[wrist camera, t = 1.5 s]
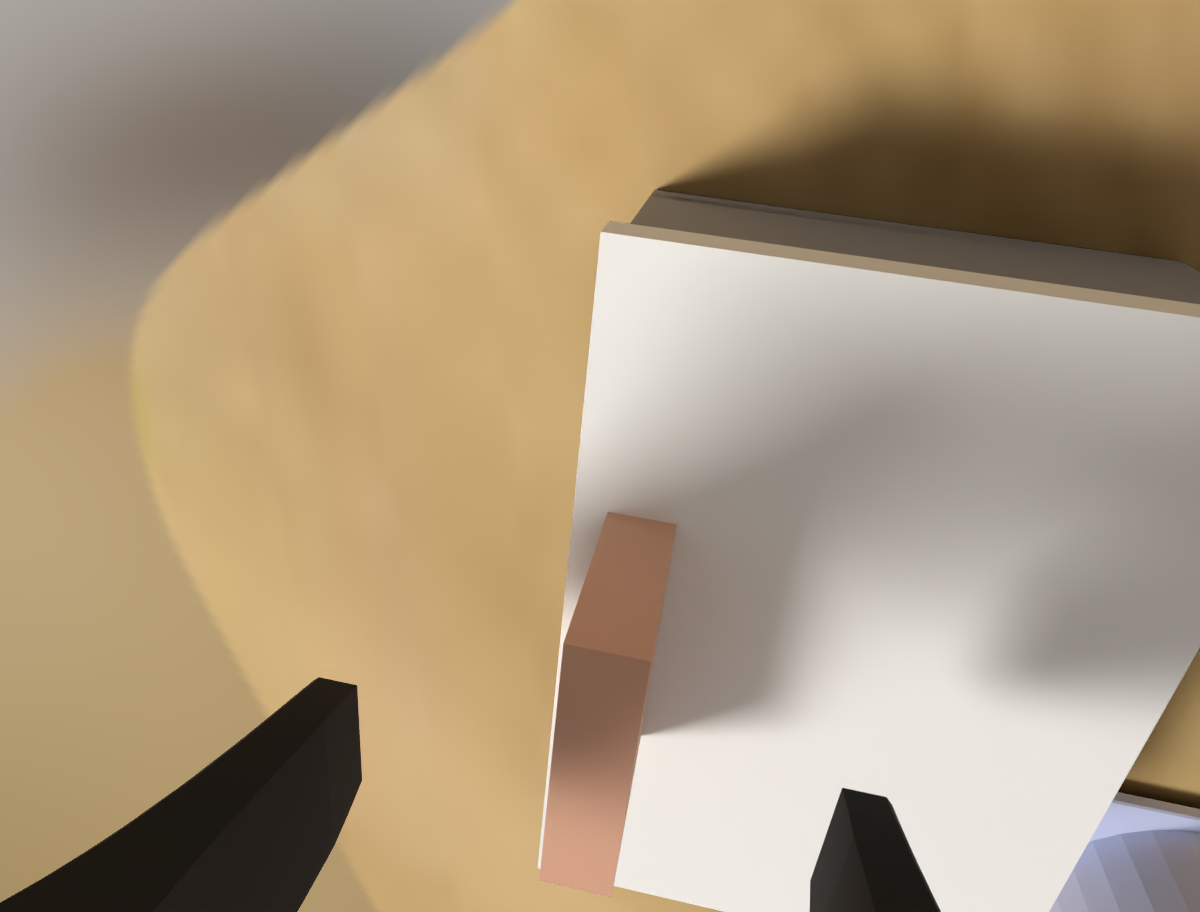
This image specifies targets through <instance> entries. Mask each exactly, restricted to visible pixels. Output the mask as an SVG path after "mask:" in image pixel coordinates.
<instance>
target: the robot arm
mask: <svg viewBox="0 0 1200 912" xmlns="http://www.w3.org/2000/svg"><path fill="white" fill-rule="evenodd" d="M361 781H362V772H361V753H360V734H359V715H358V696H357V685H352V684H348V683H343V682H338V681H334V680H329V679H324V678H317V679H316V680H314V681H313V682H311V683H310V684H309V685H308V686H306V687H305V688H304V689H303V690H301V691H300V692H299V693H298V694H297V695H295V696H294V697H293V698H292V699H290V700H289V701H288V702H287V703H286V704H284V705H283V706H282V707H281V708H280V709H278V710H277V711H276V712H275V713H274V714H272V715H271V716H270V717H269V718H267V719H266V720H265V721H264V722H263V723H261V724H260V725H259V726H258V727H256V728H255V729H254V730H253V731H251V732H250V733H249V734H248V735H246V736H245V737H244V738H243V739H241V740H240V741H239V742H238V743H236V744H235V745H234V746H233V747H231V748H230V749H229V750H227V751H226V752H225V753H224V754H222V755H221V756H220V757H218V758H217V759H216V760H214V761H213V762H212V763H211V764H210V765H208V766H207V767H205V768H204V769H203V770H202V771H200V772H199V773H198V774H196V775H195V776H194V777H192V778H191V779H190V780H188V781H187V782H186V783H185V784H183V785H182V786H180V787H179V788H178V789H176V790H175V791H173V792H172V793H171V794H169V795H168V796H166V797H165V798H164V799H162V800H161V801H159V802H158V803H157V804H155V805H154V806H152V807H151V808H150V809H148V810H147V811H145V812H144V813H143V814H141V815H140V816H138V817H137V818H135V819H134V820H133V821H131V822H130V823H128V824H127V825H126V826H124V827H123V828H121V829H120V830H118V831H117V832H115V833H114V834H112V835H111V836H109V837H108V838H106V839H105V840H103V841H102V842H100V843H99V844H97V845H95V846H94V847H92V848H91V849H89V850H88V851H86V852H85V853H83V854H81V855H80V856H78V857H77V858H75V859H73V860H72V861H70V862H69V863H67V864H65V865H64V866H62V867H60V868H59V869H57V870H56V871H54V872H52V873H51V874H49V875H48V876H46V877H44V878H43V879H41V880H39V881H37V882H36V883H34V884H32V885H30V886H29V887H27V888H25V889H23V890H22V891H20V892H18V893H16V894H15V895H13V896H11V897H10V898H8V899H6V900H4V901H2V902H1V903H0V912H297V911H298V910H299V908H300V906H301V904H302V903H303V901H304V899H305V897H306V896H307V894H308V892H309V890H310V888H311V887H312V885H313V883H314V881H315V879H316V877H317V876H318V874H319V872H320V870H321V868H322V867H323V865H324V863H325V862H326V860H327V858H328V856H329V854H330V852H331V851H332V849H333V847H334V845H335V843H336V840H337V838H338V836H339V833H340V831H341V829H342V827H343V824H344V822H345V820H346V818H347V815H348V813H349V810H350V808H351V806H352V803H353V801H354V798H355V796H356V793H357V791H358V789H359V786H360V784H361ZM810 912H941V910H940V908H939V906H938V904H937V902H936V900H935V898H934V896H933V894H932V892H931V890H930V888H929V886H928V884H927V882H926V880H925V877H924V875H923V873H922V871H921V869H920V867H919V865H918V863H917V860H916V858H915V856H914V854H913V852H912V849H911V847H910V845H909V843H908V840H907V838H906V836H905V834H904V831H903V829H902V827H901V824H900V822H899V820H898V818H897V815H896V813H895V810H894V808H893V806H892V804H891V803H890V801H889V800H888V798H887V797H884V796H879V795H875V794H870V793H865V792H860V791H856V790H851V789H846V788H842V790H841V793H840V796H839V798H838V801H837V804H836V807H835V810H834V813H833V816H832V819H831V822H830V825H829V828H828V830H827V833H826V836H825V839H824V842H823V845H822V848H821V851H820V854H819V857H818V860H817V862H816V865H815V868H814V871H813V874H812V877H811V880H810ZM1049 912H1200V809H1197V808H1192V807H1188V806H1183V805H1178V804H1173V803H1168V802H1163V801H1158V800H1154V799H1149V798H1144V797H1139V796H1134V795H1129V794H1125V793H1120V792H1117V794H1116V795H1115V797H1114V799H1113V801H1112V802H1111V804H1110V806H1109V808H1108V809H1107V811H1106V813H1105V815H1104V816H1103V818H1102V820H1101V822H1100V823H1099V825H1098V827H1097V829H1096V830H1095V832H1094V834H1093V836H1092V837H1091V839H1090V841H1089V843H1088V844H1087V846H1086V848H1085V850H1084V851H1083V853H1082V855H1081V857H1080V858H1079V860H1078V862H1077V864H1076V865H1075V867H1074V869H1073V871H1072V873H1071V874H1070V876H1069V878H1068V880H1067V881H1066V883H1065V885H1064V887H1063V888H1062V890H1061V892H1060V894H1059V895H1058V897H1057V899H1056V901H1055V902H1054V904H1053V906H1052V908H1051V909H1050V911H1049Z"/></svg>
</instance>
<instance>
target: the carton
mask: <svg viewBox="0 0 1200 912" xmlns="http://www.w3.org/2000/svg"><path fill="white" fill-rule="evenodd" d="M630 224H635V225H642V226H650V227H657V228H664V229H671V230H678V231H685V232H692V233H699V234H706V235H713V236H720V237H727V238H734V239H741V240H748V241H755V242H762V243H770V244H777V245H784V246H791V247H798V248H805V249H812V250H819V251H826V252H833V253H840V254H847V255H854V256H861V257H868V258H875V259H883V260H890V261H897V262H904V263H911V264H918V265H925V266H932V267H939V268H946V269H953V270H960V271H967V272H974V273H981V274H988V275H996V276H1003V277H1010V278H1017V279H1024V280H1031V281H1038V282H1045V283H1052V284H1059V285H1066V286H1073V287H1080V288H1087V289H1094V290H1101V291H1109V292H1116V293H1123V294H1130V295H1137V296H1144V297H1151V298H1158V299H1165V300H1172V301H1179V302H1186V303H1193V304H1200V271H1198V270H1196V269H1194V268H1192V267H1191V266H1189V265H1187V264H1185V263H1183V262H1180V261H1173V260H1166V259H1158V258H1151V257H1144V256H1136V255H1129V254H1122V253H1114V252H1107V251H1100V250H1092V249H1085V248H1078V247H1070V246H1063V245H1056V244H1048V243H1041V242H1034V241H1026V240H1019V239H1012V238H1004V237H997V236H990V235H982V234H975V233H968V232H960V231H953V230H946V229H938V228H931V227H924V226H916V225H909V224H902V223H894V222H887V221H880V220H872V219H865V218H858V217H850V216H843V215H836V214H828V213H821V212H814V211H806V210H799V209H792V208H784V207H777V206H770V205H762V204H755V203H748V202H740V201H733V200H726V199H718V198H711V197H704V196H697V195H689V194H682V193H675V192H667V191H660V190H654V192H653V193H652V194H651V196H650V197H649V199H648V200H647V201H646V203H645V204H644V205H643V207H642V208H641V209H640V211H639V212H638V214H637V215H636V216H635V218H634V219H633V220H632V222H631V223H630Z"/></svg>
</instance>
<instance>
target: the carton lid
mask: <svg viewBox="0 0 1200 912" xmlns="http://www.w3.org/2000/svg"><path fill="white" fill-rule="evenodd" d="M1199 648H1200V304H1193V303H1186V302H1179V301H1172V300H1165V299H1158V298H1151V297H1144V296H1137V295H1130V294H1123V293H1116V292H1109V291H1101V290H1094V289H1087V288H1080V287H1073V286H1066V285H1059V284H1052V283H1045V282H1038V281H1031V280H1024V279H1017V278H1010V277H1003V276H996V275H988V274H981V273H974V272H967V271H960V270H953V269H946V268H939V267H932V266H925V265H918V264H911V263H904V262H897V261H890V260H883V259H875V258H868V257H861V256H854V255H847V254H840V253H833V252H826V251H819V250H812V249H805V248H798V247H791V246H784V245H777V244H770V243H762V242H755V241H748V240H741V239H734V238H727V237H720V236H713V235H706V234H699V233H692V232H685V231H678V230H671V229H664V228H657V227H650V226H642V225H635V224H628V223H621V222H614V221H610V222H609V223H608V224H607V225H606V226H605V227H604V229H603V230H602V231H601V235H600V245H599V255H598V265H597V276H596V286H595V296H594V306H593V316H592V326H591V336H590V346H589V356H588V366H587V376H586V386H585V397H584V407H583V417H582V427H581V437H580V447H579V457H578V467H577V477H576V487H575V497H574V507H573V517H572V528H571V538H570V548H569V558H568V568H567V578H566V588H565V598H564V608H563V618H562V628H561V638H560V648H559V659H558V669H557V679H556V689H555V699H554V709H553V719H552V729H551V739H550V749H549V759H548V769H547V779H546V790H545V800H544V810H543V820H542V830H541V840H540V850H539V860H538V868H540V878H539V880H540V881H544V882H549V883H553V884H557V885H561V886H566V887H570V888H574V889H578V890H583V891H587V892H591V893H595V894H600V895H604V896H608V897H612V892H613V886H617V887H621V888H625V889H630V890H634V891H638V892H642V893H647V894H651V895H655V896H660V897H664V898H668V899H672V900H677V901H681V902H685V903H689V904H694V905H698V906H702V907H707V908H711V909H715V910H719V911H724V912H810V880H811V877H812V874H813V871H814V868H815V865H816V862H817V860H818V857H819V854H820V851H821V848H822V845H823V842H824V839H825V836H826V833H827V830H828V828H829V825H830V822H831V819H832V816H833V813H834V810H835V807H836V804H837V801H838V798H839V796H840V793H841V790H842V788H846V789H851V790H856V791H860V792H865V793H870V794H875V795H879V796H884V797H887V798H888V800H889V801H890V803H891V804H892V806H893V808H894V810H895V813H896V815H897V818H898V820H899V822H900V824H901V827H902V829H903V831H904V834H905V836H906V838H907V840H908V843H909V845H910V847H911V849H912V852H913V854H914V856H915V858H916V860H917V863H918V865H919V867H920V869H921V871H922V873H923V875H924V877H925V880H926V882H927V884H928V886H929V888H930V890H931V892H932V894H933V896H934V898H935V900H936V902H937V904H938V906H939V908H940V910H941V912H1049V911H1050V909H1051V908H1052V906H1053V904H1054V902H1055V901H1056V899H1057V897H1058V895H1059V894H1060V892H1061V890H1062V888H1063V887H1064V885H1065V883H1066V881H1067V880H1068V878H1069V876H1070V874H1071V873H1072V871H1073V869H1074V867H1075V865H1076V864H1077V862H1078V860H1079V858H1080V857H1081V855H1082V853H1083V851H1084V850H1085V848H1086V846H1087V844H1088V843H1089V841H1090V839H1091V837H1092V836H1093V834H1094V832H1095V830H1096V829H1097V827H1098V825H1099V823H1100V822H1101V820H1102V818H1103V816H1104V815H1105V813H1106V811H1107V809H1108V808H1109V806H1110V804H1111V802H1112V801H1113V799H1114V797H1115V795H1116V794H1117V792H1118V790H1119V788H1120V787H1121V785H1122V783H1123V781H1124V780H1125V778H1126V776H1127V774H1128V773H1129V771H1130V769H1131V767H1132V766H1133V764H1134V762H1135V760H1136V759H1137V757H1138V755H1139V753H1140V752H1141V750H1142V748H1143V746H1144V745H1145V743H1146V741H1147V739H1148V738H1149V736H1150V734H1151V732H1152V731H1153V729H1154V727H1155V725H1156V724H1157V722H1158V720H1159V718H1160V717H1161V715H1162V713H1163V711H1164V710H1165V708H1166V706H1167V704H1168V703H1169V701H1170V699H1171V697H1172V696H1173V694H1174V692H1175V690H1176V688H1177V687H1178V685H1179V683H1180V681H1181V680H1182V678H1183V676H1184V674H1185V673H1186V671H1187V669H1188V667H1189V666H1190V664H1191V662H1192V660H1193V659H1194V657H1195V655H1196V653H1197V652H1198V650H1199Z"/></svg>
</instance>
